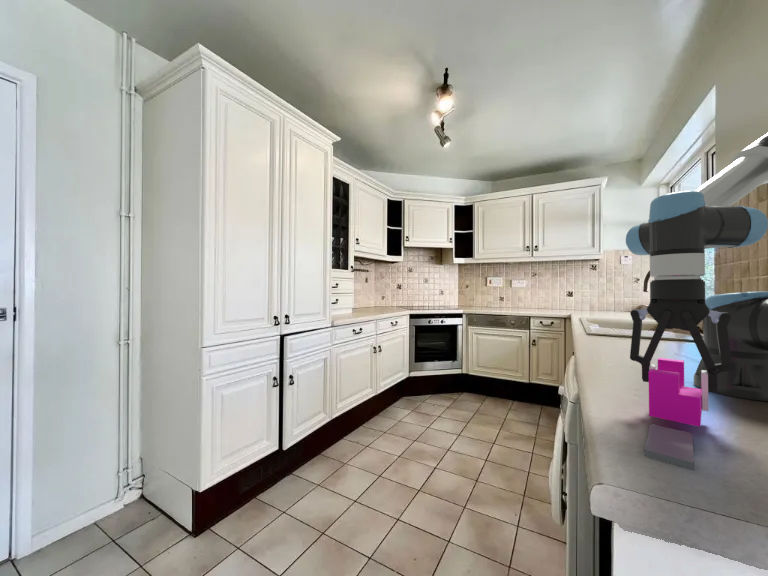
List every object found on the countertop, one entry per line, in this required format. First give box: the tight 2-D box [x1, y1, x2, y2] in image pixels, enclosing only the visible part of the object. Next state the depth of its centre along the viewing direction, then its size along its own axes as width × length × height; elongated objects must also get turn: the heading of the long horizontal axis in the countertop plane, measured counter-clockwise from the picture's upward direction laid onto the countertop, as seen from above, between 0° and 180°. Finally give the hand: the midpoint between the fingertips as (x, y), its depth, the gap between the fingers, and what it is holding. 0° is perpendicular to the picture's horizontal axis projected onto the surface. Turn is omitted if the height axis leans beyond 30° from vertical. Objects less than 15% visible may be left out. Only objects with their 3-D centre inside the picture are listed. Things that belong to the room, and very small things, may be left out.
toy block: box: [648, 357, 703, 428], centre depth 58 cm, size 15×6×8 cm, turn 135°
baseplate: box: [644, 423, 695, 471], centre depth 48 cm, size 12×5×1 cm, turn 137°
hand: (677, 403), depth 60 cm, fingers closed on toy block, 6 cm apart
